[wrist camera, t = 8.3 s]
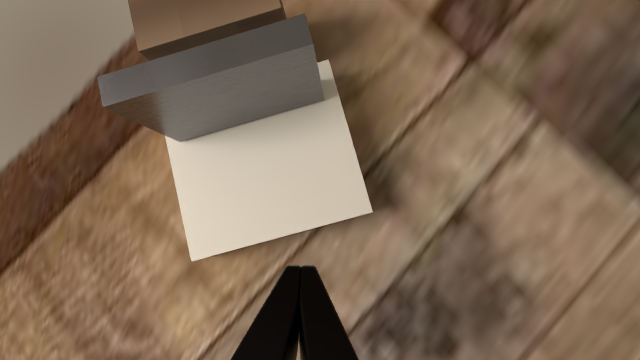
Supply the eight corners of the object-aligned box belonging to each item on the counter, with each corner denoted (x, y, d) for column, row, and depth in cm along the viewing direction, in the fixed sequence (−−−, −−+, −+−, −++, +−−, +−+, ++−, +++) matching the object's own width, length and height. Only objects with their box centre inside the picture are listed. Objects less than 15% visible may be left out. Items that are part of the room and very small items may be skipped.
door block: (369, 213, 24) (372, 212, 21) (210, 256, 24) (191, 261, 21) (330, 78, 25) (328, 59, 22) (181, 122, 26) (159, 109, 23)
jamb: (302, 73, 25) (281, 7, 17) (203, 103, 26) (138, 51, 18) (289, 26, 26) (263, -59, 18) (192, 56, 26) (125, -15, 18)
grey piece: (324, 100, 21) (313, 43, 15) (180, 142, 22) (102, 106, 15) (295, -2, 22) (272, -100, 16) (158, 40, 23) (76, -36, 16)
